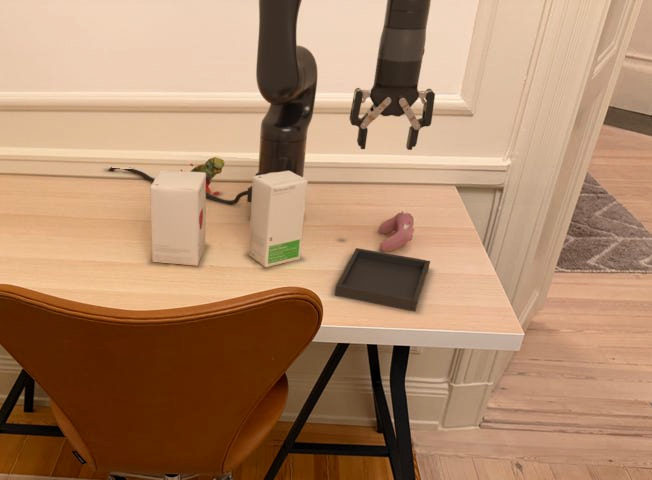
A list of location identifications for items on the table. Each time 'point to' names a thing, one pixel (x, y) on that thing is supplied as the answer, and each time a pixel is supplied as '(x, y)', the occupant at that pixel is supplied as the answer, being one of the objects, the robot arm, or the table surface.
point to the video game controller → (397, 231)
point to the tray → (383, 279)
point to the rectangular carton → (178, 217)
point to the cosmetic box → (277, 217)
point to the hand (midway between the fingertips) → (385, 148)
